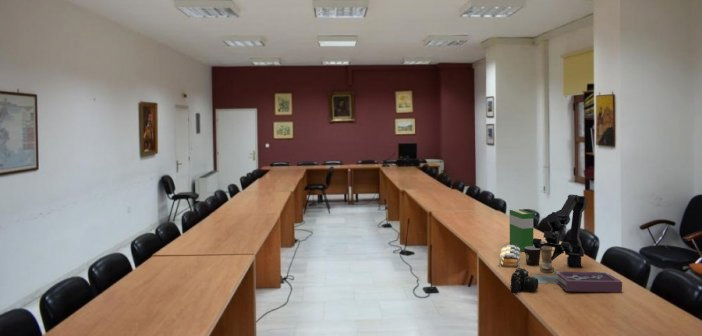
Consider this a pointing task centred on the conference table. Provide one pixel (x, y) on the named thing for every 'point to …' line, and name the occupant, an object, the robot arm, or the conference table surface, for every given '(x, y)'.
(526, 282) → the film camera
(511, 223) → the hardback book
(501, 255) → the diorama
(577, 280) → the book
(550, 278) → the flat light blue board
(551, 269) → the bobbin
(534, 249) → the coffee mug
